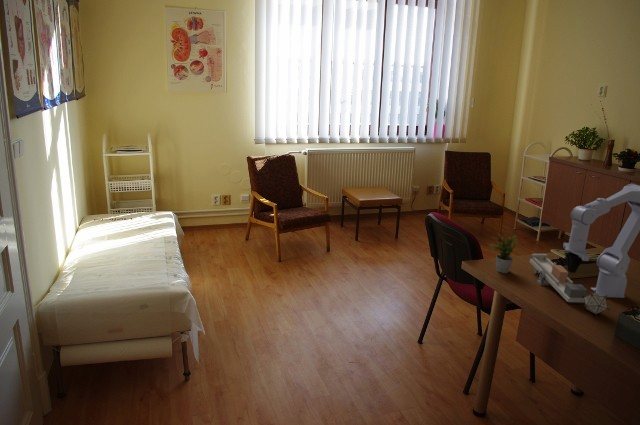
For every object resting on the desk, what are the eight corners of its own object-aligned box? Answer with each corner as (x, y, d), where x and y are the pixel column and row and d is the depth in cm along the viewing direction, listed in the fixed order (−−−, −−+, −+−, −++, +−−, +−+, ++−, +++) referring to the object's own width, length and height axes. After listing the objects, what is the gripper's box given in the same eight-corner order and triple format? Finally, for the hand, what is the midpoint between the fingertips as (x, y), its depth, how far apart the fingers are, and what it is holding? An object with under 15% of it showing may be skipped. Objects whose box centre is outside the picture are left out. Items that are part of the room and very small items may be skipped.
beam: (586, 302, 184) (589, 290, 183) (566, 302, 184) (569, 290, 182) (545, 262, 215) (548, 251, 213) (528, 261, 215) (531, 251, 213)
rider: (565, 282, 195) (568, 272, 193) (557, 282, 195) (560, 272, 193) (558, 275, 200) (560, 265, 199) (550, 275, 200) (553, 265, 199)
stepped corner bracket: (589, 304, 185) (592, 292, 184) (561, 304, 184) (563, 291, 183) (549, 272, 215) (551, 261, 213) (525, 271, 214) (526, 260, 213)
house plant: (493, 261, 225) (498, 226, 220) (524, 269, 216) (530, 234, 212) (480, 269, 214) (485, 233, 210) (511, 278, 206) (518, 241, 201)
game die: (597, 323, 179) (621, 309, 173) (581, 317, 176) (604, 303, 170) (587, 302, 185) (609, 288, 179) (571, 297, 182) (593, 282, 176)
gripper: (558, 231, 191) (552, 264, 195) (578, 244, 177) (571, 279, 181) (575, 232, 192) (569, 264, 195) (597, 244, 178) (590, 279, 181)
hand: (571, 271), depth 188 cm, fingers closed
